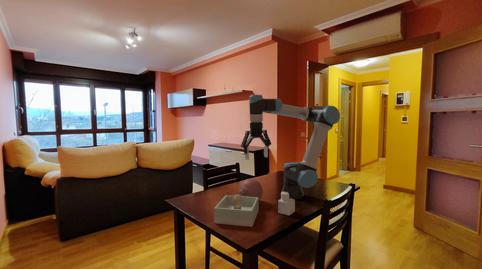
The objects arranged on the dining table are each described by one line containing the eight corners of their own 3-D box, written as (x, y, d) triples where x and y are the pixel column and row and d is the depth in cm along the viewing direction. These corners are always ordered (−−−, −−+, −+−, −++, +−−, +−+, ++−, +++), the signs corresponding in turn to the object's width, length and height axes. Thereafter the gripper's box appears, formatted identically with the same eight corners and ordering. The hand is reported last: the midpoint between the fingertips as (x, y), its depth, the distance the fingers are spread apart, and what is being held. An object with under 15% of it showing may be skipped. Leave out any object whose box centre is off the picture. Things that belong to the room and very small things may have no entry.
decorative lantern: (228, 205, 142) (228, 181, 140) (249, 196, 156) (249, 174, 155) (247, 211, 131) (246, 185, 130) (267, 201, 146) (267, 178, 145)
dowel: (242, 217, 124) (242, 195, 123) (236, 218, 122) (235, 197, 121) (238, 214, 127) (238, 193, 127) (232, 216, 125) (232, 195, 124)
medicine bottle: (283, 208, 134) (283, 189, 133) (295, 211, 130) (294, 191, 129) (277, 212, 129) (277, 192, 128) (289, 216, 124) (289, 194, 123)
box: (258, 210, 132) (258, 197, 131) (252, 226, 113) (252, 211, 112) (225, 208, 137) (225, 195, 136) (214, 223, 117) (214, 208, 117)
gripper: (269, 121, 140) (269, 155, 142) (234, 122, 127) (235, 159, 129) (277, 121, 134) (277, 156, 135) (241, 122, 121) (242, 161, 122)
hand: (256, 158), depth 132 cm, fingers open, 13 cm apart
